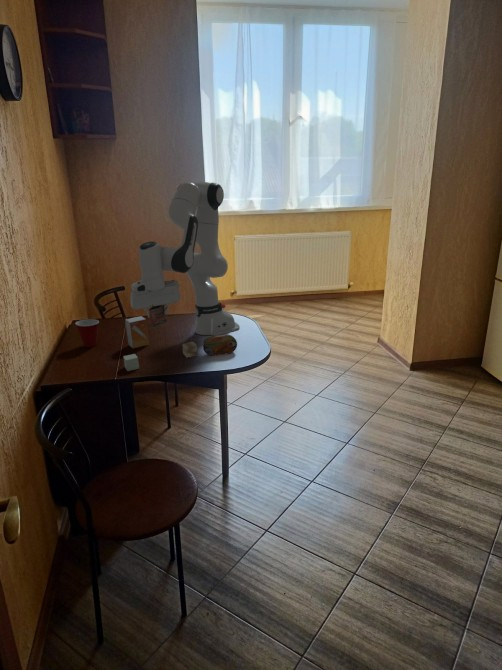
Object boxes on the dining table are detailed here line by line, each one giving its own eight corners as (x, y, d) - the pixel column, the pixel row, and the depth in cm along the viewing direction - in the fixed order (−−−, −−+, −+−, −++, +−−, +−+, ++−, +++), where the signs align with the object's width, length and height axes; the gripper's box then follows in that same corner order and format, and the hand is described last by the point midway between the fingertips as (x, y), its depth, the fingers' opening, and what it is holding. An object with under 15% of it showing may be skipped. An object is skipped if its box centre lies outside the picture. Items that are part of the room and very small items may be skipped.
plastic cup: (107, 344, 225) (103, 320, 221) (86, 351, 218) (82, 326, 213) (95, 339, 232) (91, 316, 228) (75, 345, 225) (70, 322, 220)
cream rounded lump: (193, 351, 211) (192, 341, 209) (197, 355, 206) (196, 345, 205) (183, 354, 209) (182, 343, 207) (186, 358, 204) (185, 347, 203)
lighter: (155, 327, 191) (152, 304, 187) (149, 326, 192) (146, 303, 189) (168, 321, 197) (165, 298, 193) (162, 320, 199) (159, 297, 195)
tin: (204, 356, 204) (202, 339, 201) (203, 354, 207) (201, 336, 204) (237, 352, 207) (236, 335, 204) (236, 350, 210) (235, 332, 207)
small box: (133, 349, 217) (129, 322, 213) (128, 345, 222) (124, 319, 218) (149, 344, 221) (146, 318, 217) (144, 341, 226) (141, 315, 222)
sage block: (136, 364, 200) (135, 353, 198) (139, 368, 196) (137, 357, 194) (124, 367, 198) (123, 356, 196) (127, 371, 194) (125, 360, 192)
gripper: (175, 277, 195) (179, 309, 200) (126, 285, 187) (132, 318, 192) (180, 280, 190) (184, 312, 195) (130, 289, 182) (135, 322, 187)
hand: (157, 315), depth 193 cm, fingers closed on lighter, 5 cm apart
